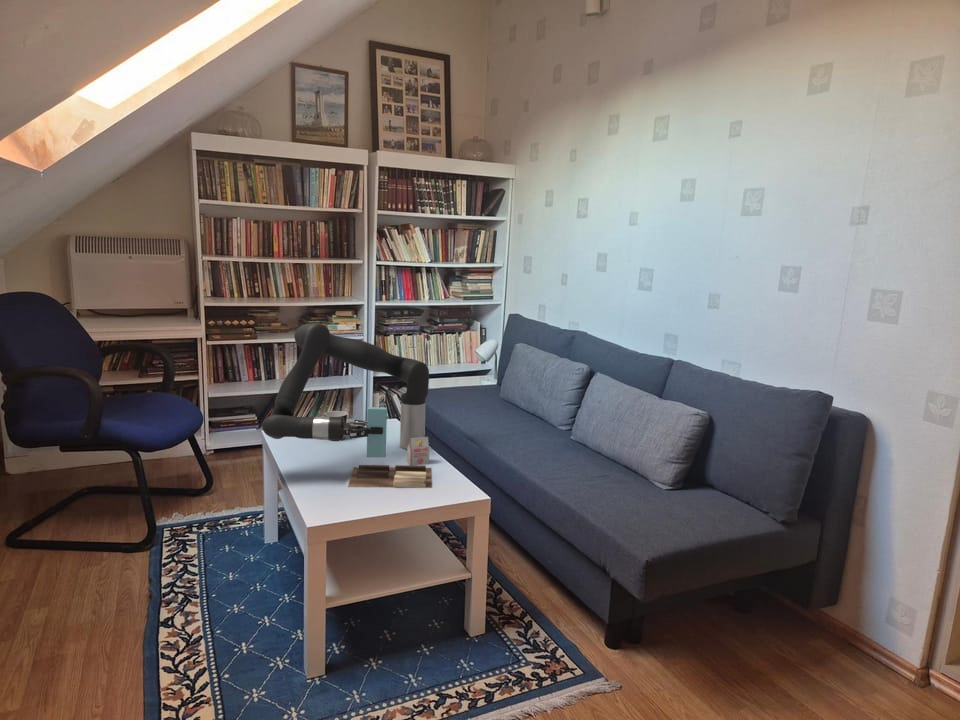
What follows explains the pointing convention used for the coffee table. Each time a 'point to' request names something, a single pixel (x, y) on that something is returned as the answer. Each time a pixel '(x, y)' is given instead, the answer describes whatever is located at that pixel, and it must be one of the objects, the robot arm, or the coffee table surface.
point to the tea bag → (418, 451)
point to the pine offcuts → (409, 479)
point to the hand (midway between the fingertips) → (382, 429)
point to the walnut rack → (384, 475)
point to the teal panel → (377, 441)
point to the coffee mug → (336, 414)
